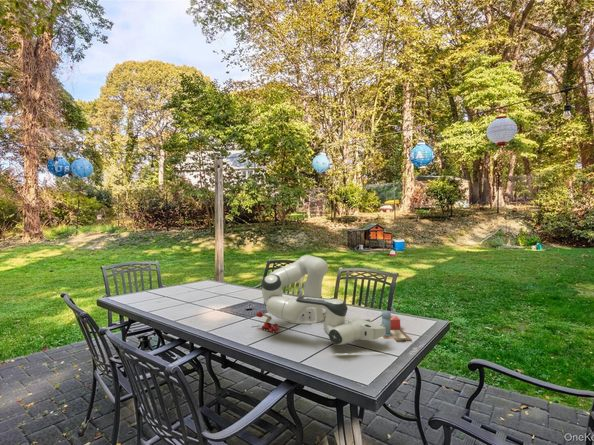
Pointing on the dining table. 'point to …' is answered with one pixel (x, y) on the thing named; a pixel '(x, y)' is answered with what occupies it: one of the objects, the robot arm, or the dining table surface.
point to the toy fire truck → (268, 324)
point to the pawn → (387, 322)
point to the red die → (395, 323)
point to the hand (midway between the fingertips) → (376, 323)
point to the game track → (397, 336)
